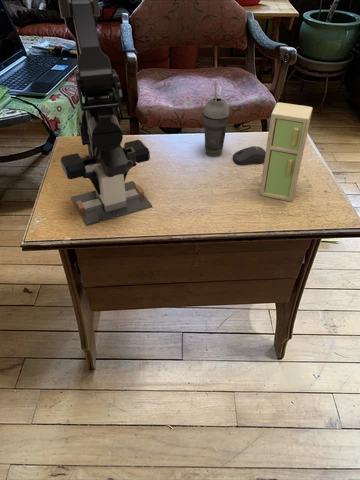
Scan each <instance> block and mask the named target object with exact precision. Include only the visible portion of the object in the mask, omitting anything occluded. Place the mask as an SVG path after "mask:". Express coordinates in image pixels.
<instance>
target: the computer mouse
mask: <svg viewBox="0 0 360 480" xmlns="http://www.w3.org/2000/svg"><path fill="white" fill-rule="evenodd" d="M265 154H266V149H264V148H263V147H261V146H257V145H253V146H249V147H245V148H242V149H240V150H237V151H236V152H234V153H233V155H232V158H233V160H234V162H235V163H236V164H237V165H240V166H245V165H255V164H262V163H263V164H264V160H265Z"/></svg>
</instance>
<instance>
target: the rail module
mask: <svg viewBox="0 0 360 480" xmlns="http://www.w3.org/2000/svg"><path fill="white" fill-rule="evenodd" d="M93 169H94V171H95V172H96V174H97V180H98V184H99V188H100V195H98V193H97V191H96V190H95V191H96V196H97V198H101V200H102V202H103V203H104V209H105V211H106V212H108V211H111V210H115V209H119V208H122V207H126V206H127V205H126V195H125V184H124V183H125V182H124V174H120V175H116V176H114V177H107V176H106V175H105V173H104V170H103V168H102V166H101V164H99V165H94V166H93Z"/></svg>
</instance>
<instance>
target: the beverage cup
mask: <svg viewBox="0 0 360 480" xmlns="http://www.w3.org/2000/svg"><path fill="white" fill-rule="evenodd" d="M217 84H218V83H217V80H216V79H215V80H214V98H212V99H210V100H208V101H207V102H206V103H205V105H204V108H203V111H202V118H203V122H204V123H203V126H204V128H203V129H204V130H203V131H204V149H205V150H204V151H205V155H206V156H207V157H210V158H217V157H220V156H221V155H222V154H223V149H224V143H225V139H226V132H227V126H228V122H229V119H230V116H231V112H230V108H229V105H228V103H227V102H226V101H225V100H224V99H222V98H220V97H218V95H217V94H218V91H217V90H218V89H217V87H218V86H217Z"/></svg>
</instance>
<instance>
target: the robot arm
mask: <svg viewBox="0 0 360 480" xmlns="http://www.w3.org/2000/svg"><path fill="white" fill-rule="evenodd" d="M58 7H59V11H60V12H59V13H60V18H61V19H64V24H65V27H66V29H67V30H68V32H69V33H70V34H71V35H72V37H73V38H74V42H75V50H76V57H77V59H76V67H77V68H76V69H77V72H74V78H75V82H76V83H75V85H76V90H77V95H78V102H79V106H80V110H81V111H80V114H79V117H80V122H78V125H79V126H78V127H79V133H80V139H81V143H82V144H81V145H82V146H87V151H88V155H85V157H84V158H81V156H80V155H79V153H78V152H77V153H72V154H67V155H63V156H62V157H61V158H60V160H59V162H60V166H61V167H60V168H61V169H62V171H63V173H64V174H65V176H66V178H67V179H69V180H75V179H79V178H83V179H88V180H89V181H90V183H92V185H93V187H94V190H95V191H97V193H98V195H100V188H99V184H98V180H97V174H96V172H95V171H94V169H93V166H94V165H99V164H101V166H102V168H103V170H104V173H105V175H106V176H107V177H114V176H116V175H120V174H124V183H126V179H127V175H128V173H129V171H130V170H131V169H132V168H134V167H137V166H138V165H137V164H141V163H146V162H148V161H150V160H151V156H150V155H151V153H150V150H149V148H148V147H147V146H146V145H145V144H144V143H143V142H142V140H140V139H136V140H131V141H125V142H124V145H123V146H122V145H121V144H122V142H123V136H124V135H123V131H122V128H121V126H120V122H119V121H118V118H117V116H116V115H115V108H121V107H122V103H121V102H122V100H123V98H124V96H123V91H122V86H121V82H120V76H119V75H118V74H117V71H116V69H113V68H112V64H111V61H110V57H109V56H108V55H106V54H105V53H104V52H103V51H102V48H101V44H100V39H99V34H98V30H97V27H98V17H100V16H101V12H100V4H99V0H58ZM113 94H114V95H115V97H114V96H113ZM109 96H113V97H109Z"/></svg>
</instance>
